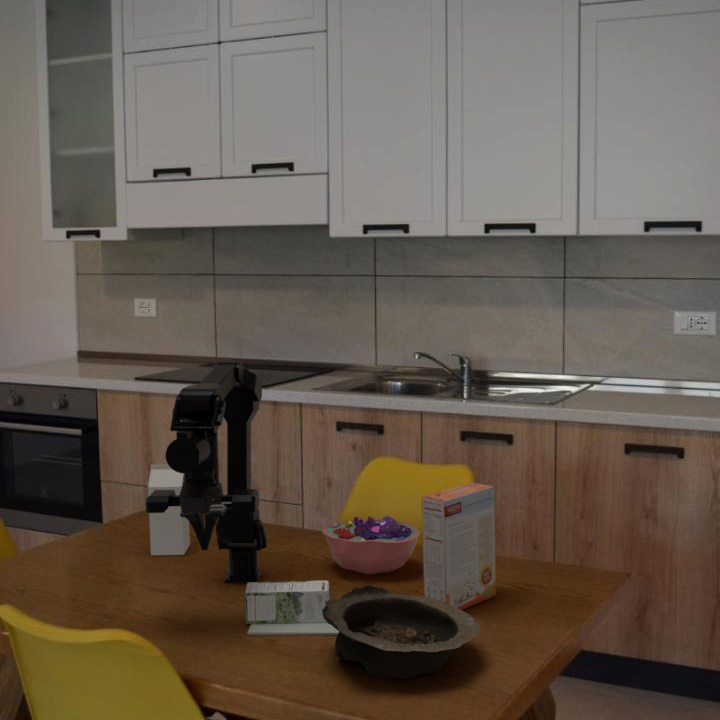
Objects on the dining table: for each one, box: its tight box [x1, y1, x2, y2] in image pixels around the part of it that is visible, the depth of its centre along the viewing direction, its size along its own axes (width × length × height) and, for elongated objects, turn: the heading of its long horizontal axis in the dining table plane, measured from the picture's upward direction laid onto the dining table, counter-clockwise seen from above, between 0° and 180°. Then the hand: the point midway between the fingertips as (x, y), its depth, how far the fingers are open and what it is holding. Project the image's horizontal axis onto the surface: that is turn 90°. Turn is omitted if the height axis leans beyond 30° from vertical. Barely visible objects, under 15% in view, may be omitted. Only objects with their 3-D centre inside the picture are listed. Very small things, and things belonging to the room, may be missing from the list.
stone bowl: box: [322, 585, 481, 680], centre depth 162 cm, size 25×25×9 cm
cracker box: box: [421, 481, 497, 611], centre depth 187 cm, size 14×6×21 cm, turn 135°
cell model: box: [321, 515, 421, 575], centre depth 207 cm, size 17×20×11 cm
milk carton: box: [147, 463, 191, 556], centre depth 222 cm, size 7×7×19 cm
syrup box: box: [244, 580, 331, 625], centre depth 180 cm, size 6×6×14 cm
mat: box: [247, 622, 339, 636], centre depth 180 cm, size 12×16×1 cm
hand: (204, 549), depth 179 cm, fingers closed
